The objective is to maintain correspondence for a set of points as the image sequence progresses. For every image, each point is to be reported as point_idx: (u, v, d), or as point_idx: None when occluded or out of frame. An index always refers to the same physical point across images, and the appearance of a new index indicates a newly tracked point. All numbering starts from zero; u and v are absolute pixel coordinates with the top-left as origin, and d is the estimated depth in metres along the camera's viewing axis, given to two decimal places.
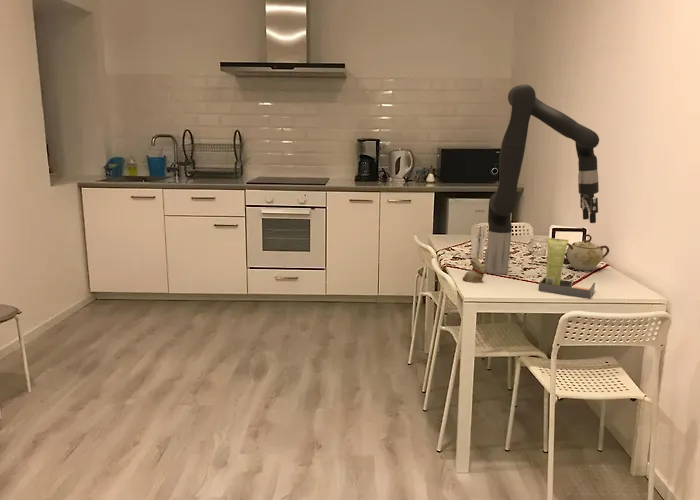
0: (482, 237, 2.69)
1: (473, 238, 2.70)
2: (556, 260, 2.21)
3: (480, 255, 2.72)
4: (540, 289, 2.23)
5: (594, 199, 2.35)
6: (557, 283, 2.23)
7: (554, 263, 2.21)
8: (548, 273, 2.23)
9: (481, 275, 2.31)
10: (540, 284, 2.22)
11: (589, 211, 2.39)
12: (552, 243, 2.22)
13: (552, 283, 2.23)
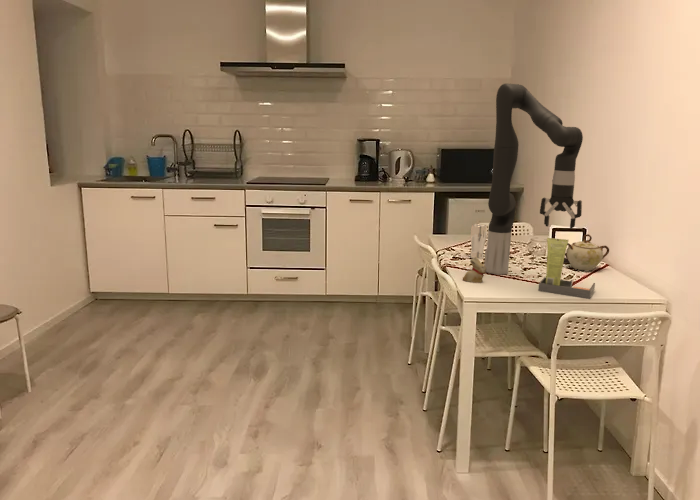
0: (482, 237, 2.69)
1: (473, 238, 2.70)
2: (556, 260, 2.21)
3: (480, 255, 2.72)
4: (540, 289, 2.23)
5: None
6: (557, 283, 2.23)
7: (554, 263, 2.21)
8: (548, 273, 2.23)
9: (481, 275, 2.31)
10: (540, 284, 2.22)
11: None
12: (552, 243, 2.22)
13: (552, 283, 2.23)
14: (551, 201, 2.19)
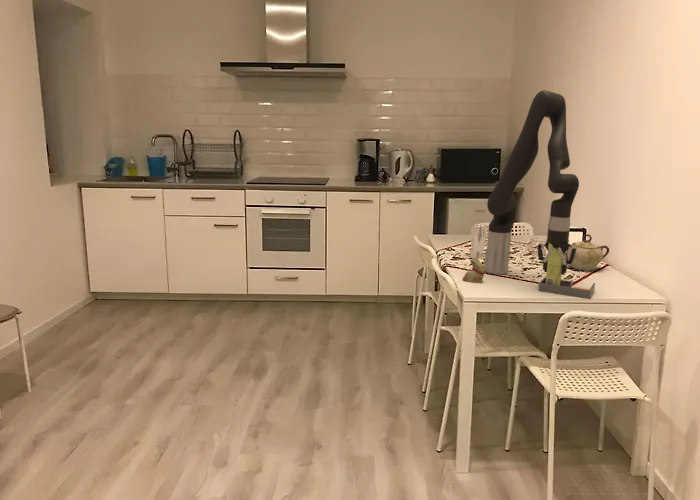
0: (482, 237, 2.69)
1: (473, 238, 2.70)
2: (557, 260, 2.21)
3: (480, 255, 2.72)
4: (540, 289, 2.23)
5: None
6: (557, 283, 2.23)
7: (554, 263, 2.21)
8: (548, 273, 2.23)
9: (481, 275, 2.31)
10: (540, 284, 2.22)
11: None
12: None
13: (552, 283, 2.23)
14: (547, 245, 2.22)
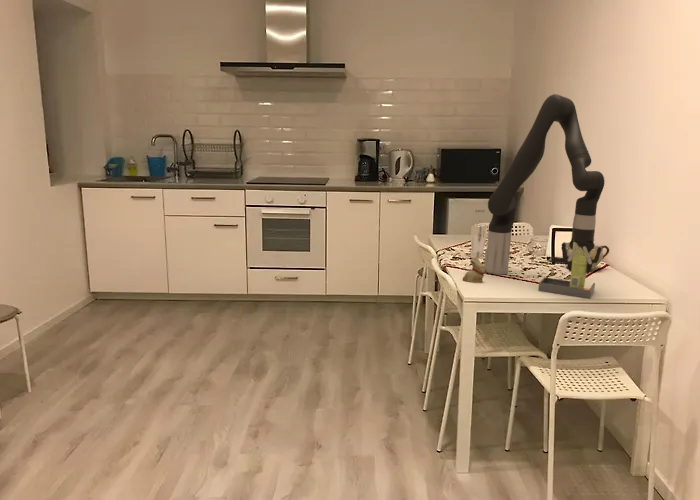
0: (482, 237, 2.69)
1: (473, 238, 2.70)
2: (582, 259, 2.17)
3: (480, 255, 2.72)
4: (540, 289, 2.23)
5: None
6: (582, 282, 2.18)
7: (579, 262, 2.17)
8: (572, 273, 2.19)
9: (481, 275, 2.31)
10: (540, 284, 2.22)
11: None
12: None
13: (577, 282, 2.18)
14: (571, 244, 2.18)
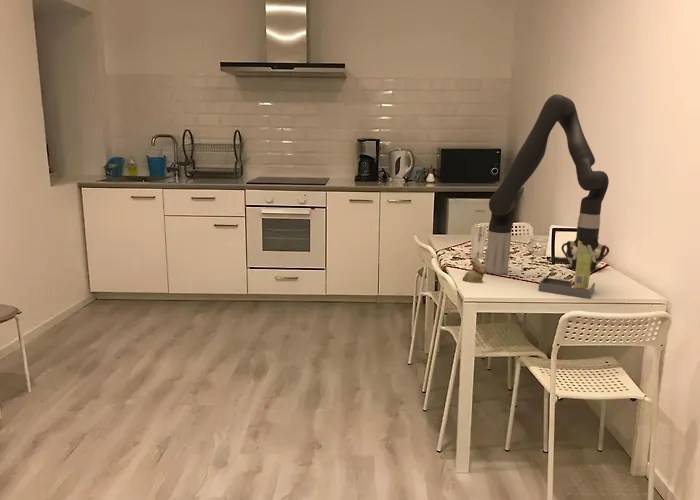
0: (482, 237, 2.69)
1: (473, 238, 2.70)
2: (586, 257, 2.21)
3: (480, 255, 2.72)
4: (540, 289, 2.23)
5: None
6: (586, 280, 2.22)
7: (584, 261, 2.21)
8: (577, 271, 2.23)
9: (481, 275, 2.31)
10: (540, 284, 2.22)
11: None
12: None
13: (581, 280, 2.22)
14: (576, 243, 2.22)
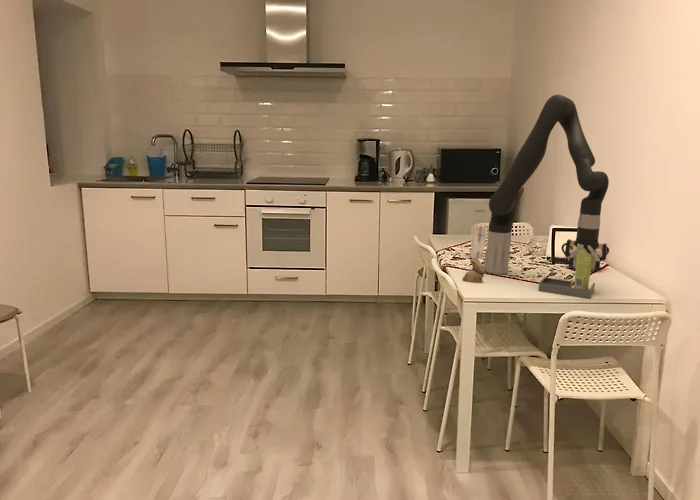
0: (482, 237, 2.69)
1: (473, 238, 2.70)
2: (586, 259, 2.21)
3: (480, 255, 2.72)
4: (540, 289, 2.23)
5: (567, 241, 2.24)
6: (586, 282, 2.22)
7: (583, 263, 2.21)
8: (577, 273, 2.23)
9: (481, 275, 2.32)
10: (540, 284, 2.22)
11: None
12: None
13: (581, 283, 2.22)
14: (576, 243, 2.22)
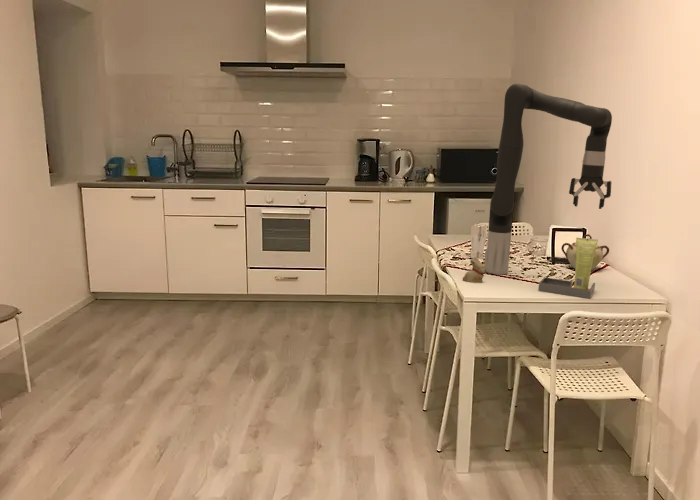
0: (482, 237, 2.69)
1: (473, 238, 2.70)
2: (586, 259, 2.21)
3: (480, 255, 2.72)
4: (540, 289, 2.23)
5: None
6: (586, 282, 2.22)
7: (583, 263, 2.21)
8: (577, 273, 2.23)
9: (481, 275, 2.31)
10: (540, 284, 2.22)
11: None
12: (581, 243, 2.21)
13: (581, 283, 2.22)
14: (581, 181, 2.22)
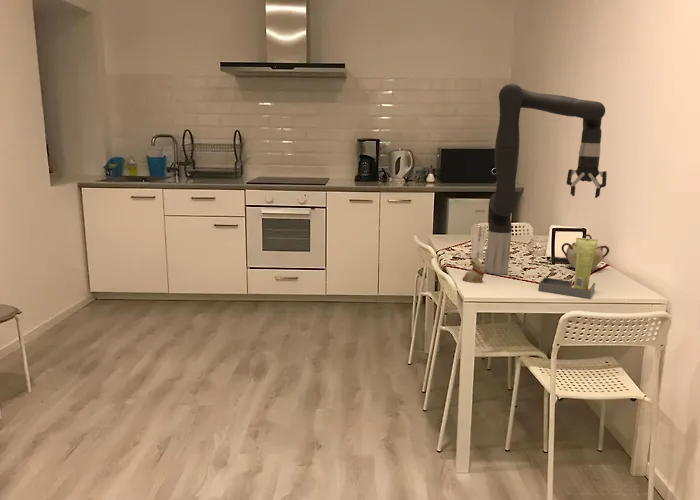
0: (482, 237, 2.69)
1: (473, 238, 2.70)
2: (586, 259, 2.21)
3: (480, 255, 2.72)
4: (540, 289, 2.23)
5: None
6: (586, 282, 2.22)
7: (583, 263, 2.21)
8: (577, 273, 2.23)
9: (481, 275, 2.31)
10: (540, 284, 2.22)
11: None
12: (581, 243, 2.21)
13: (581, 283, 2.22)
14: (577, 172, 2.34)
